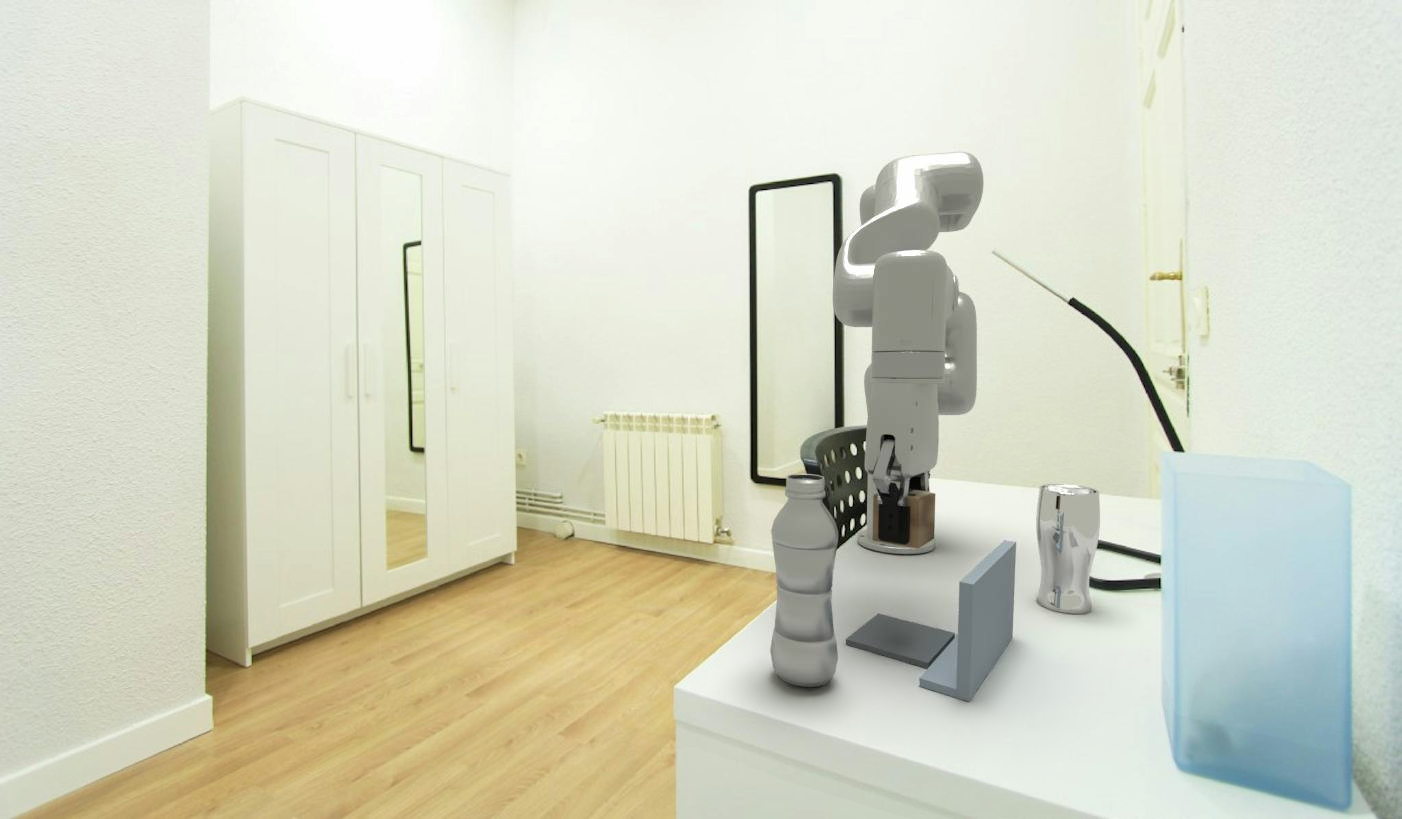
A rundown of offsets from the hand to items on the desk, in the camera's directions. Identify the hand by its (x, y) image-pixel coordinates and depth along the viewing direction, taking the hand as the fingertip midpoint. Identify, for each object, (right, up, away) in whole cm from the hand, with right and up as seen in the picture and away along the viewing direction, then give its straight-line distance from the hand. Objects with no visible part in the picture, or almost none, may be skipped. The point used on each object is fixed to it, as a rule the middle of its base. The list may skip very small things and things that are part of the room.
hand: (903, 534), depth 69 cm
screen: (+6, -12, -3) cm, 14 cm away
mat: (0, -12, +1) cm, 12 cm away
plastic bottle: (-12, -13, -7) cm, 19 cm away
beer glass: (+24, -11, +12) cm, 29 cm away
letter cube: (0, -1, 0) cm, 1 cm away
